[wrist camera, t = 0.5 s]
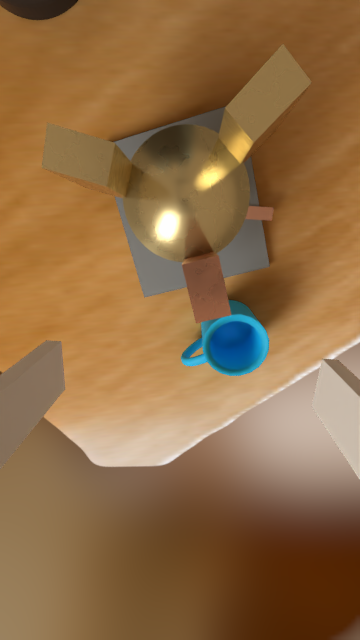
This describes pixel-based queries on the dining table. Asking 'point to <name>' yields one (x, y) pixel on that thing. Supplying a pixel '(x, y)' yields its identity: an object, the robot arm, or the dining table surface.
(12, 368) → the robot arm
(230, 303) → the mug
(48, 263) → the dining table surface
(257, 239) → the post base
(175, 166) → the three-blade desk fan
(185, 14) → the dining table surface
